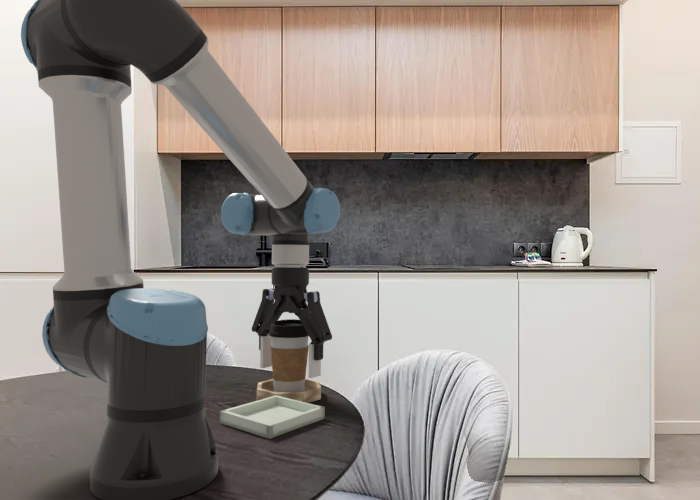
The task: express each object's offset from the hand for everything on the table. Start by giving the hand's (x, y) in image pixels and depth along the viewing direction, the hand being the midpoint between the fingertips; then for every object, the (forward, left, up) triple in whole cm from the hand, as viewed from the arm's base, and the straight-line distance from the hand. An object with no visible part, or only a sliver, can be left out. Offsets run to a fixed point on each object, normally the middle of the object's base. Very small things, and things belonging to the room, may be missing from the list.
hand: (289, 371), depth 104 cm
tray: (-13, -9, -5) cm, 17 cm away
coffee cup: (0, 0, -5) cm, 5 cm away
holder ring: (0, 0, -5) cm, 5 cm away
